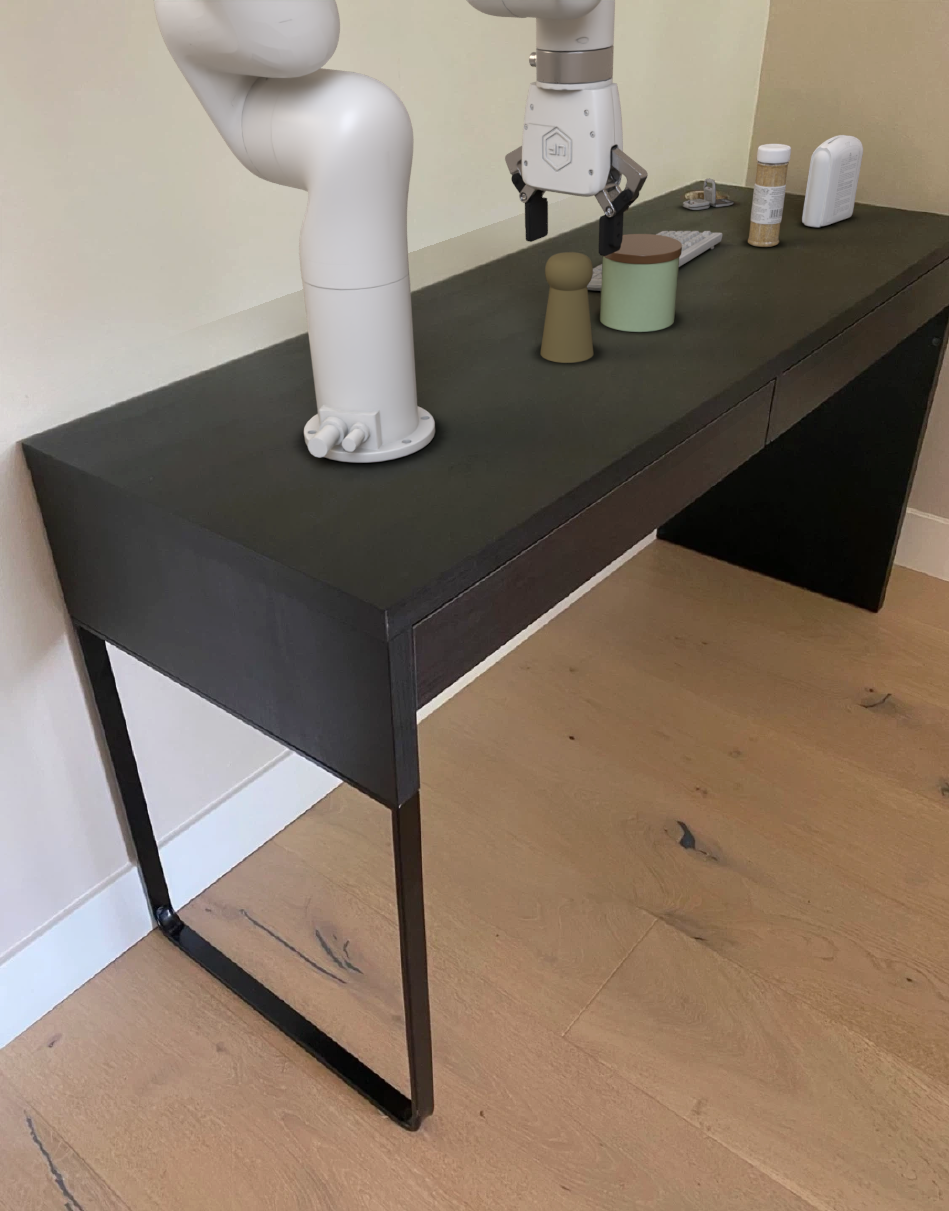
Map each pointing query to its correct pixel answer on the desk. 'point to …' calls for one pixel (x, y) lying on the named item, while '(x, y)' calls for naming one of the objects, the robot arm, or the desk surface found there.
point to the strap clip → (707, 199)
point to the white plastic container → (832, 181)
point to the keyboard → (691, 248)
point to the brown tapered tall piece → (567, 309)
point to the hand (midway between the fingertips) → (572, 245)
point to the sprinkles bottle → (769, 194)
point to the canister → (640, 283)
